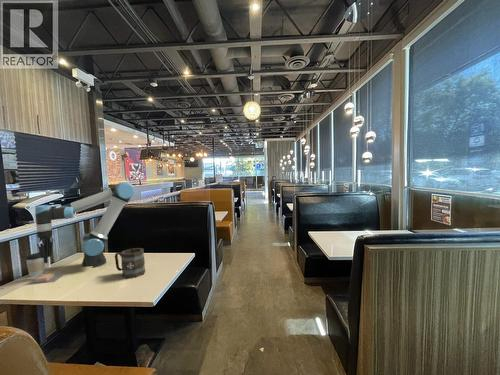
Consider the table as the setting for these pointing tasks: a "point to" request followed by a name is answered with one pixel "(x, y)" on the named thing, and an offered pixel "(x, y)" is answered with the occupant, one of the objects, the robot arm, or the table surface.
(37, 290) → the table surface
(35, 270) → the coffee cup
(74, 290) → the table surface
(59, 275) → the board
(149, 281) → the table surface
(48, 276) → the tile
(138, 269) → the mug
